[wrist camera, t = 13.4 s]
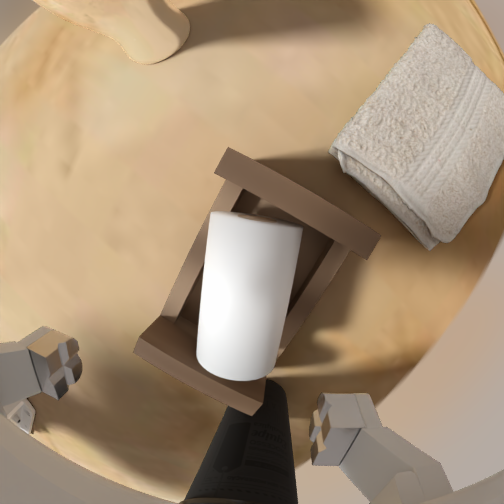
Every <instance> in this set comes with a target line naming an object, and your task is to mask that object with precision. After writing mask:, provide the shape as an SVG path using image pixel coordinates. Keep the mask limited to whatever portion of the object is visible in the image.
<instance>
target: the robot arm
mask: <svg viewBox="0 0 504 504" xmlns="http://www.w3.org/2000/svg"><path fill="white" fill-rule="evenodd" d="M78 351H79V346H78V341H76V340H75V339H74V338H72V337H70V336H67V335H65V334H63V333H61V332H58V331H56V330H54V329H51V328H49V327H47V326H42V327H40V328H39V329H37V330H36V331H34V332H33V333H31V334H29V335H28V336H26V337H25V338H23V339H22V340H20V341H19V342H15V341H13V342H6V343H0V504H178V503H175V502H171V501H168V500H164V499H161V498H158V497H154V496H151V495H148V494H145V493H142V492H140V491H137V490H134V489H131V488H129V487H126V486H124V485H121V484H119V483H116V482H114V481H112V480H109V479H107V478H105V477H102V476H100V475H98V474H96V473H94V472H92V471H90V470H88V469H86V468H84V467H82V466H80V465H78V464H76V463H74V462H72V461H71V460H69V459H67V458H65V457H63V456H62V455H60V454H58V453H57V452H55V451H53V450H52V449H50V448H48V447H47V446H45V445H44V444H42V443H41V442H39V441H38V440H36V439H35V438H33V437H32V436H30V435H29V434H31V430H32V426H33V421H34V417H35V410H34V408H33V407H32V405H31V404H30V402H29V401H28V400H27V398H28V397H31V396H33V395H36V394H39V393H41V391H42V392H44V393H46V394H48V395H50V396H52V397H53V398H55V399H57V400H59V399H60V398H61V397H62V396H63V395H64V394H65V393H66V392H67V391H68V388H69V385H70V384H74V383H76V382H77V381H78V379H79V378H80V376H81V373H82V361H81V359H80V357H79V356H78V354H77V353H78ZM317 405H318V409H317V410H316V411H314V412H313V415H312V417H311V421H310V427H309V437H310V440H311V441H312V442H313V445H312V448H311V458H312V465H319V466H320V465H321V466H323V465H324V466H339V468H340V469H341V470H342V471H343V472H344V473H345V474H346V476H347V477H348V478H349V479H350V480H351V481H352V482H353V484H354V485H355V486H356V487H357V488H358V489H359V490H360V491H361V492H362V493H363V495H364V496H365V497H366V498H367V499H368V500H369V501H370V503H369V504H504V470H502V471H500V472H498V473H496V474H494V475H492V476H490V477H488V478H486V479H484V480H481V481H479V482H477V483H475V484H472V485H470V486H468V487H465V488H463V489H460V490H458V491H455V492H453V490H452V487H451V485H450V483H449V481H448V479H447V476H446V475H445V472H444V470H443V468H442V465H441V463H440V462H438V461H436V460H435V459H433V458H432V457H430V456H429V455H427V454H426V453H424V452H423V451H421V450H420V449H418V448H417V447H415V446H414V445H412V444H411V443H409V442H408V441H406V440H405V439H403V438H402V437H401V436H399V435H398V434H396V433H395V432H393V431H392V430H391V429H389V428H388V427H383V426H382V424H381V421H380V419H379V417H378V414H377V412H376V409H375V407H374V404H373V402H372V399H371V397H370V395H369V394H368V393H352V394H345V393H321V394H320V396H319V398H318V401H317Z"/></svg>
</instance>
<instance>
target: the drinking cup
mask: <svg viewBox="0 0 504 504" xmlns="http://www.w3.org/2000/svg"><path fill="white" fill-rule="evenodd" d="M179 504H298V498H297V488H296V479H295V469H294V460H293V451H292V442H291V433H290V424H289V415H288V407H287V399H286V394H285V391H284V390H283V388H282V387H281V386H280V385H278V384H277V383H275V382H273V381H271V380H267V379H266V383H265V391H264V400H263V404H262V405H261V406H260V408H259V409H258V410H257V411H256V412H255V413H254V414H253V416H250V415H248V414H246V413H243V412H241V411H239V410H237V409H235V408H232V407H230V406H228V407H227V409H226V411H225V414H224V416H223V418H222V421H221V423H220V425H219V427H218V429H217V432H216V434H215V436H214V438H213V441H212V443H211V445H210V447H209V449H208V451H207V454H206V456H205V458H204V460H203V462H202V464H201V466H200V469H199V471H198V473H197V475H196V477H195V479H194V481H193V483H192V485H191V487H190V489H189V491H188V493H187V495H186V497H185V499H184V501H181V502H180V503H179Z"/></svg>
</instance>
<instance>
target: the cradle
mask: <svg viewBox="0 0 504 504" xmlns="http://www.w3.org/2000/svg"><path fill="white" fill-rule="evenodd" d="M214 173H215V174H217V175H219V176H221V177H223V178H225V179H226V181H225V182H224V184H223V186H222V188H221V190H220V192H219V194H218V196H217V198H216V200H215V201H214V203H213V205H212V207H211V209H210V211H209V213H208V215H207V217H206V219H205V221H204V223H203V225H202V227H201V229H200V231H199V233H198V235H197V237H196V239H195V241H194V243H193V245H192V247H191V249H190V251H189V254H188V256H187V258H186V260H185V262H184V264H183V266H182V268H181V270H180V273H179V275H178V277H177V279H176V281H175V283H174V285H173V288H172V290H171V292H170V294H169V297H168V299H167V301H166V303H165V305H164V308H163V310H162V312H161V315H160V316H159V317H158V318H157V319H156V320H155V321H154V322H153V323H152V324H151V325H150V326H149V327H148V328H147V329H146V330H145V331H144V332H143V333H142V334H141V336H140V337H139V338H138V341H137V344H136V346H135V349H134V352H133V353H135V354H136V355H138V356H139V357H141V358H142V359H144V360H146V361H147V362H149V363H150V364H152V365H154V366H155V367H157V368H159V369H160V370H162V371H164V372H165V373H167V374H169V375H170V376H172V377H174V378H176V379H177V380H179V381H181V382H183V383H185V384H186V385H188V386H190V387H192V388H194V389H196V390H198V391H200V392H202V393H204V394H205V395H207V396H209V397H211V398H213V399H215V400H218V401H220V402H222V403H224V404H226V405H228V406H230V407H232V408H235V409H237V410H239V411H241V412H243V413H246V414H248V415H250V416H253V414H254V413H255V412H256V411H257V410H258V409H259V408H260V406H261V405H262V404H263V400H264V391H265V383H266V376H264V377H262V378H259V379H256V380H250V381H235V380H229V379H225V378H221V377H219V376H216V375H214V374H212V373H210V372H209V371H207V370H206V369H205V368H203V367H202V366H201V364H200V363H199V362H198V359H197V356H196V351H197V337H198V325H199V313H200V302H201V292H202V282H203V272H204V263H205V254H206V246H207V237H208V229H209V221H210V214H211V212H214V211H227V212H239V213H248V214H255V215H262V216H267V217H273V218H278V219H282V220H286V221H290V222H294V223H297V224H300V225H302V226H303V232H302V238H301V243H300V249H299V254H298V259H297V264H296V270H295V275H294V280H293V285H292V290H291V294H290V299H289V304H288V309H287V313H286V318H285V323H284V327H283V332H282V336H281V340H280V345H279V349H278V353H277V358H276V360H277V359H278V358H279V356H280V355H281V354H282V352H283V351H284V350H285V348H286V347H287V345H288V344H289V343H290V341H291V340H292V338H293V337H294V336H295V334H296V333H297V331H298V330H299V329H300V327H301V326H302V324H303V323H304V321H305V320H306V318H307V317H308V315H309V314H310V313H311V311H312V310H313V308H314V307H315V305H316V304H317V302H318V301H319V299H320V298H321V296H322V294H323V293H324V291H325V290H326V288H327V287H328V285H329V284H330V282H331V281H332V279H333V277H334V276H335V274H336V273H337V271H338V269H339V268H340V266H341V265H342V263H343V261H344V260H345V258H346V256H347V255H348V253H349V251H350V250H351V251H353V252H354V253H356V254H358V255H359V256H361V257H362V258H364V259H366V260H367V259H368V258H369V256H370V254H371V253H372V251H373V249H374V248H375V246H376V244H377V242H378V241H379V239H380V237H381V235H380V234H378V233H377V232H375V231H374V230H372V229H371V228H369V227H368V226H366V225H365V224H363V223H362V222H360V221H358V220H357V219H355V218H354V217H352V216H351V215H349V214H347V213H346V212H344V211H343V210H341V209H339V208H338V207H336V206H334V205H333V204H331V203H330V202H328V201H326V200H325V199H323V198H321V197H319V196H318V195H316V194H314V193H313V192H311V191H309V190H308V189H306V188H304V187H302V186H301V185H299V184H297V183H295V182H294V181H292V180H290V179H288V178H286V177H285V176H283V175H281V174H279V173H277V172H275V171H274V170H272V169H270V168H268V167H266V166H264V165H262V164H260V163H259V162H257V161H255V160H253V159H251V158H249V157H247V156H245V155H243V154H241V153H239V152H237V151H235V150H233V149H231V148H229V147H228V148H227V150H226V152H225V154H224V155H223V157H222V159H221V161H220V163H219V165H218V166H217V168H216V170H215V172H214Z"/></svg>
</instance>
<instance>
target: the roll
mask: <svg viewBox="0 0 504 504" xmlns="http://www.w3.org/2000/svg"><path fill="white" fill-rule="evenodd" d="M302 232H303V226H302V225H300V224H297V223H294V222H290V221H286V220H282V219H278V218H273V217H267V216H262V215H255V214H248V213H239V212H227V211H214V212H211V214H210V221H209V229H208V237H207V246H206V254H205V263H204V272H203V282H202V292H201V302H200V313H199V325H198V337H197V351H196V356H197V359H198V362H199V363H200V364H201V366H202V367H203V368H205V369H206V370H207V371H209V372H210V373H212V374H214V375H216V376H219V377H221V378H225V379H229V380H235V381H250V380H256V379H259V378H262V377H264V376H266V375H268V374H269V373H270V372H271V371H272V370H273V368H274V366H275V362H276V358H277V353H278V349H279V345H280V340H281V336H282V332H283V327H284V323H285V318H286V313H287V309H288V304H289V299H290V294H291V290H292V285H293V280H294V275H295V270H296V264H297V259H298V254H299V249H300V243H301V238H302Z"/></svg>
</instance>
